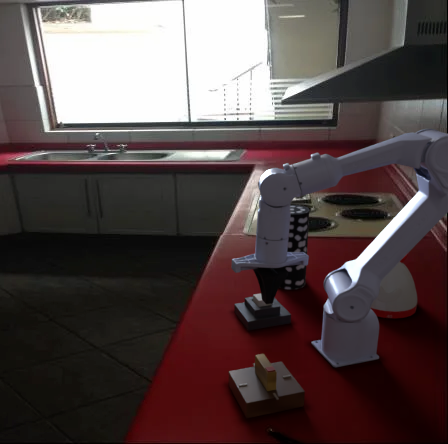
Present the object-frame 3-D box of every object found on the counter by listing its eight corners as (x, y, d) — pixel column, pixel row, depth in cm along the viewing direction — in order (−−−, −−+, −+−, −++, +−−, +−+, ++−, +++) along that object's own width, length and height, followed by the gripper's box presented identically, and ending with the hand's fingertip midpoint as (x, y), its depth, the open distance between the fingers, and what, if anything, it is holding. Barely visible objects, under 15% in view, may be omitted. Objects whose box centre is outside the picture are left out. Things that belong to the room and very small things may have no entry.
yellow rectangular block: (254, 372, 72) (254, 353, 71) (263, 370, 72) (263, 352, 71) (267, 391, 67) (267, 372, 66) (276, 389, 68) (276, 370, 67)
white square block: (265, 299, 95) (265, 292, 94) (271, 305, 92) (271, 298, 91) (252, 301, 94) (253, 294, 94) (258, 307, 91) (258, 300, 91)
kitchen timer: (348, 285, 106) (353, 230, 101) (410, 292, 101) (419, 234, 96) (350, 313, 94) (356, 251, 89) (421, 322, 89) (431, 257, 84)
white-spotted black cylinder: (305, 291, 105) (309, 215, 98) (270, 287, 107) (273, 213, 101) (305, 276, 112) (309, 205, 106) (273, 274, 115) (275, 204, 108)
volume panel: (279, 373, 76) (279, 358, 75) (306, 409, 67) (307, 393, 66) (227, 383, 74) (227, 368, 73) (247, 421, 66) (248, 405, 65)
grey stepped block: (274, 305, 99) (274, 290, 97) (290, 323, 91) (291, 307, 90) (234, 312, 97) (234, 296, 96) (247, 330, 89) (248, 314, 88)
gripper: (297, 225, 81) (291, 287, 85) (226, 231, 78) (224, 295, 83) (317, 237, 74) (310, 304, 79) (241, 244, 72) (237, 313, 76)
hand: (267, 301), depth 80 cm, fingers closed
